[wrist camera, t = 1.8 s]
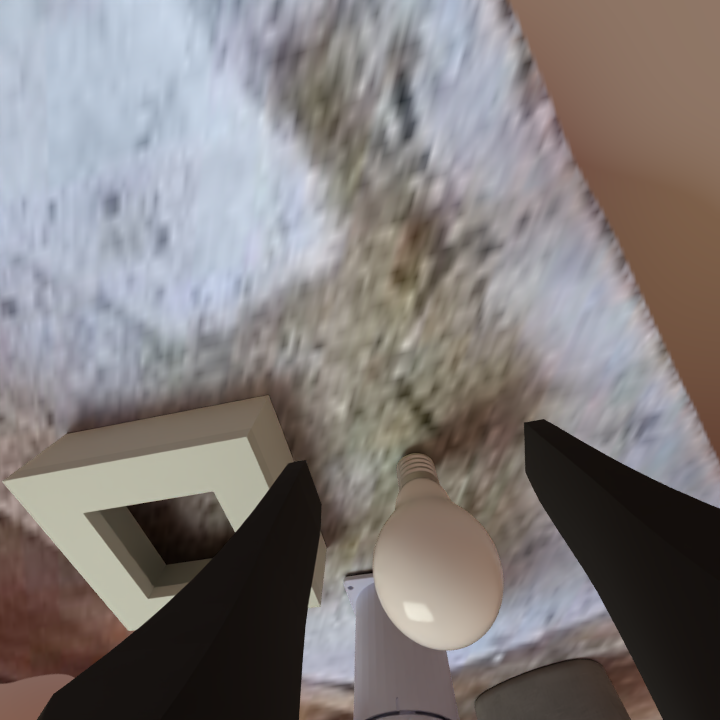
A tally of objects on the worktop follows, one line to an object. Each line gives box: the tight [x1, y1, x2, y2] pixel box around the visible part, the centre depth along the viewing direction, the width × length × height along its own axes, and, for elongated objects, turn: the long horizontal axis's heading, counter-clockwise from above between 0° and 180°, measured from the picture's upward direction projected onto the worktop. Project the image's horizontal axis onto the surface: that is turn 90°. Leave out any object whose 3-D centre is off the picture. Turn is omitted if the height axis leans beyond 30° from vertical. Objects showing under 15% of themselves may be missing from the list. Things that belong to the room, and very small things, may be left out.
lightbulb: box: [373, 453, 504, 650], centre depth 19 cm, size 6×6×11 cm
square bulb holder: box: [2, 395, 327, 631], centre depth 24 cm, size 15×15×4 cm
